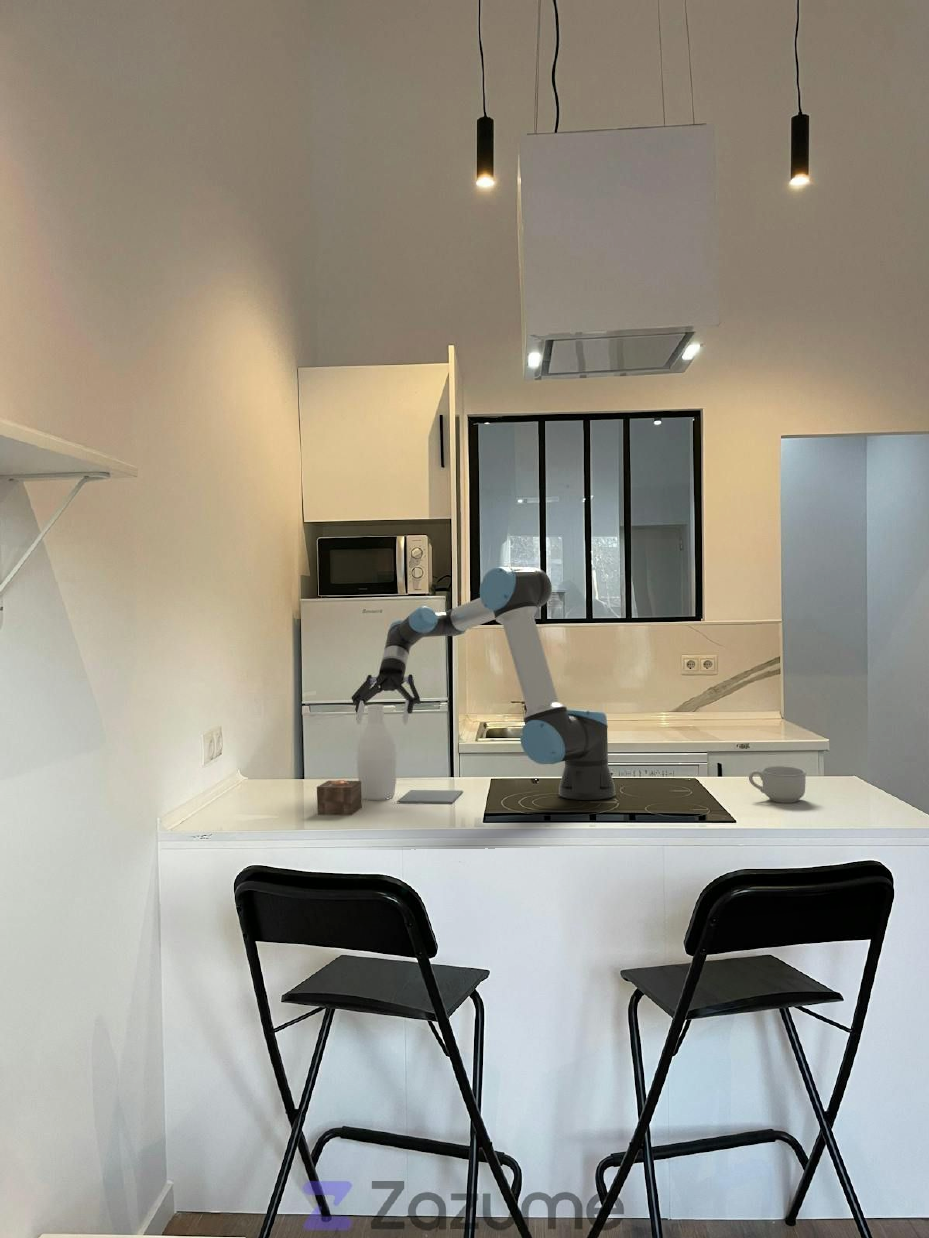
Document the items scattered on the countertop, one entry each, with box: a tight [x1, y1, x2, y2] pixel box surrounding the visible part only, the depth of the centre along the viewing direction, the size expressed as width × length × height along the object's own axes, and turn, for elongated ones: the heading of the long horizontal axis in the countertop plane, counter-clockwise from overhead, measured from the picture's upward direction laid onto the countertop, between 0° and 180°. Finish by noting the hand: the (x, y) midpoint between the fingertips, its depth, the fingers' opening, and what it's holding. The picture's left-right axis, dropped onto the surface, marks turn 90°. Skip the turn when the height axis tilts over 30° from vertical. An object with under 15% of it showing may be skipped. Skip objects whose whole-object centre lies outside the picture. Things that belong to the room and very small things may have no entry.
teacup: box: [748, 765, 807, 804], centre depth 246 cm, size 14×11×8 cm
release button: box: [328, 779, 350, 786], centre depth 247 cm, size 4×4×6 cm
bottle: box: [356, 703, 398, 801], centre depth 264 cm, size 11×11×25 cm
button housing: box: [316, 780, 363, 816], centre depth 247 cm, size 9×9×7 cm
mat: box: [396, 789, 464, 805], centre depth 261 cm, size 15×15×1 cm
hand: (381, 721), depth 272 cm, fingers open, 13 cm apart
